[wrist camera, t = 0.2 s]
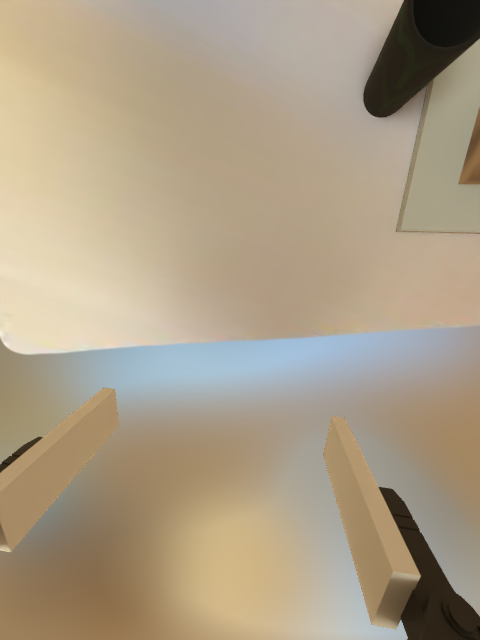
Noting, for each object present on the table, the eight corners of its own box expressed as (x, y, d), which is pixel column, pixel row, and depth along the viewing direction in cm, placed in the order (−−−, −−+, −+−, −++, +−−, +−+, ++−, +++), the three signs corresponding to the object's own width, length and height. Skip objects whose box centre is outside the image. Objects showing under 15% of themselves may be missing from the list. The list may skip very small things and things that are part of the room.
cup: (423, 108, 30) (520, 18, 18) (363, 138, 31) (419, 71, 20) (410, 40, 28) (508, -105, 17) (348, 75, 30) (399, -37, 18)
